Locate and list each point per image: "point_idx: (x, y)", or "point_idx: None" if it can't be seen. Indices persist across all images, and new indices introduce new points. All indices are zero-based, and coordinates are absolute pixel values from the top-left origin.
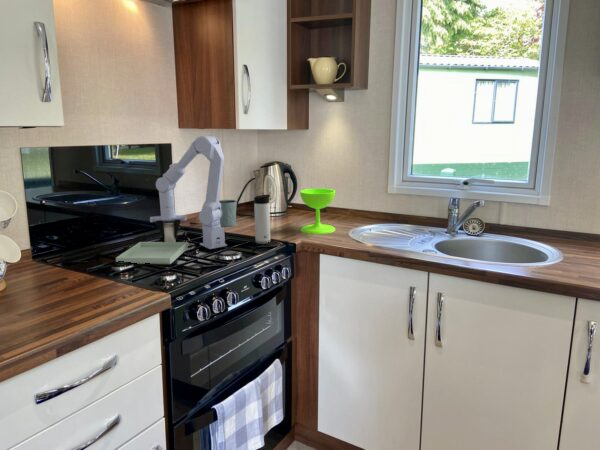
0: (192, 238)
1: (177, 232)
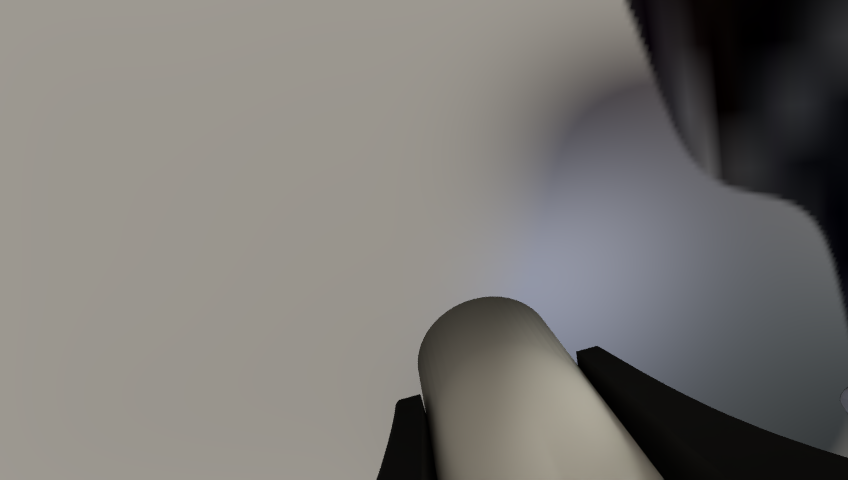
0: (744, 110)
1: (654, 381)
